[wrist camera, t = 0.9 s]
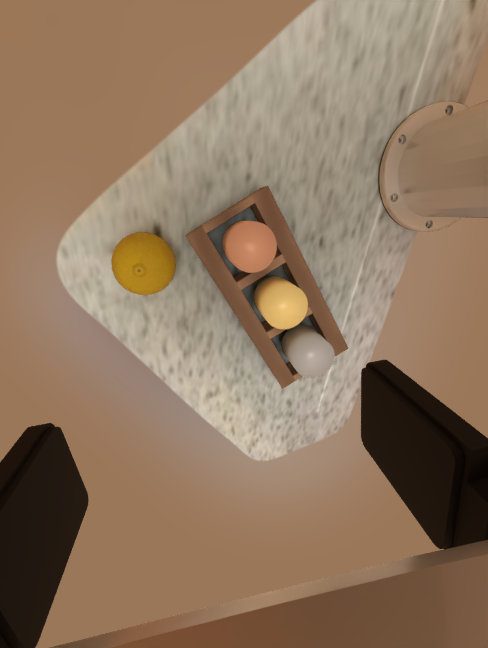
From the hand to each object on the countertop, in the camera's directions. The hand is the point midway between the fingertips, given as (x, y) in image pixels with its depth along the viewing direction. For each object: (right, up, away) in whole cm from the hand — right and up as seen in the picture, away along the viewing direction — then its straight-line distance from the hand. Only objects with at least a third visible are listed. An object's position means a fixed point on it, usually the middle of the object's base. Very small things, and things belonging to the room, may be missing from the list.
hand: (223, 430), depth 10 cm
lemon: (-9, +10, +23) cm, 27 cm away
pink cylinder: (+1, +11, +22) cm, 25 cm away
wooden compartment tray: (+3, +7, +26) cm, 27 cm away
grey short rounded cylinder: (+7, +1, +27) cm, 28 cm away
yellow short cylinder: (+4, +6, +24) cm, 25 cm away
